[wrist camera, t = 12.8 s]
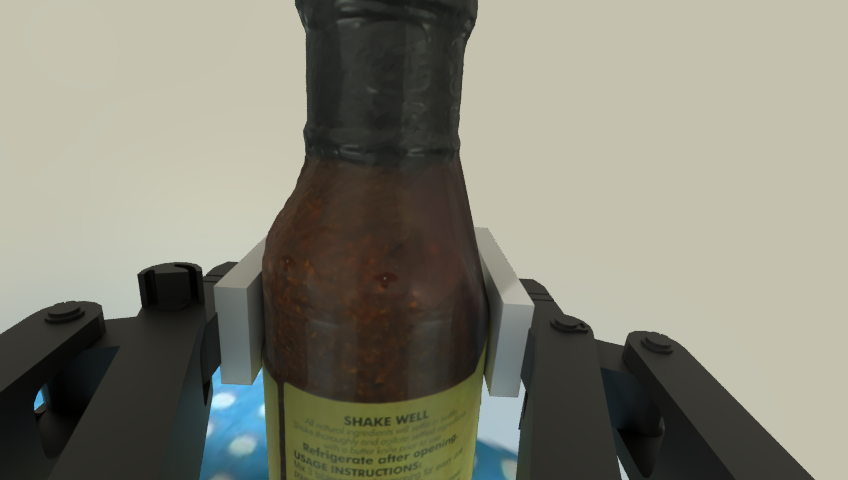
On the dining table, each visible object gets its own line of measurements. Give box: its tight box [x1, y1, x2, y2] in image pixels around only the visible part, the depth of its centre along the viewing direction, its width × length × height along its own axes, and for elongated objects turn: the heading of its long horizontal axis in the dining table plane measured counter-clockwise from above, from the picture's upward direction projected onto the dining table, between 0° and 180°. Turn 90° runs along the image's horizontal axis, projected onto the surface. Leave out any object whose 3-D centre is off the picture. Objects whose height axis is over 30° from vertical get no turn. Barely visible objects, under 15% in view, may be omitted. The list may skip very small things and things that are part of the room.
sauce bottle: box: [262, 0, 490, 480], centre depth 12 cm, size 7×6×20 cm
